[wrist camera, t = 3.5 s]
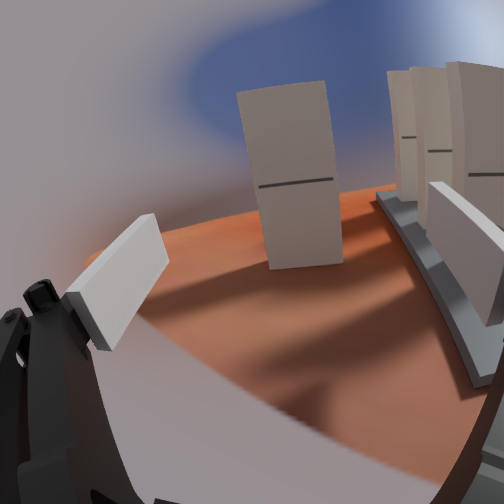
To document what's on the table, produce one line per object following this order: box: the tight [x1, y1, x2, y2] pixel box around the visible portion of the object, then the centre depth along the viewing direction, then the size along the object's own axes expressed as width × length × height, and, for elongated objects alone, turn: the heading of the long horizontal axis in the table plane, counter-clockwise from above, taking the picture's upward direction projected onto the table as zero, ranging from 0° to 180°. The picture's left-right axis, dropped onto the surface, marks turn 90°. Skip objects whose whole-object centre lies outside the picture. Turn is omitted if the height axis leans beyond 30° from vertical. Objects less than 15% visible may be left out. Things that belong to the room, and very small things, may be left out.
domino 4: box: [445, 62, 504, 228], centre depth 15 cm, size 2×6×14 cm, turn 82°
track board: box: [376, 190, 504, 389], centre depth 22 cm, size 27×10×1 cm, turn 172°
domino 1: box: [236, 81, 343, 270], centre depth 23 cm, size 2×6×14 cm, turn 82°
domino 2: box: [387, 71, 418, 202], centre depth 28 cm, size 2×6×14 cm, turn 82°
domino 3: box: [409, 66, 452, 230], centre depth 22 cm, size 2×6×14 cm, turn 83°
